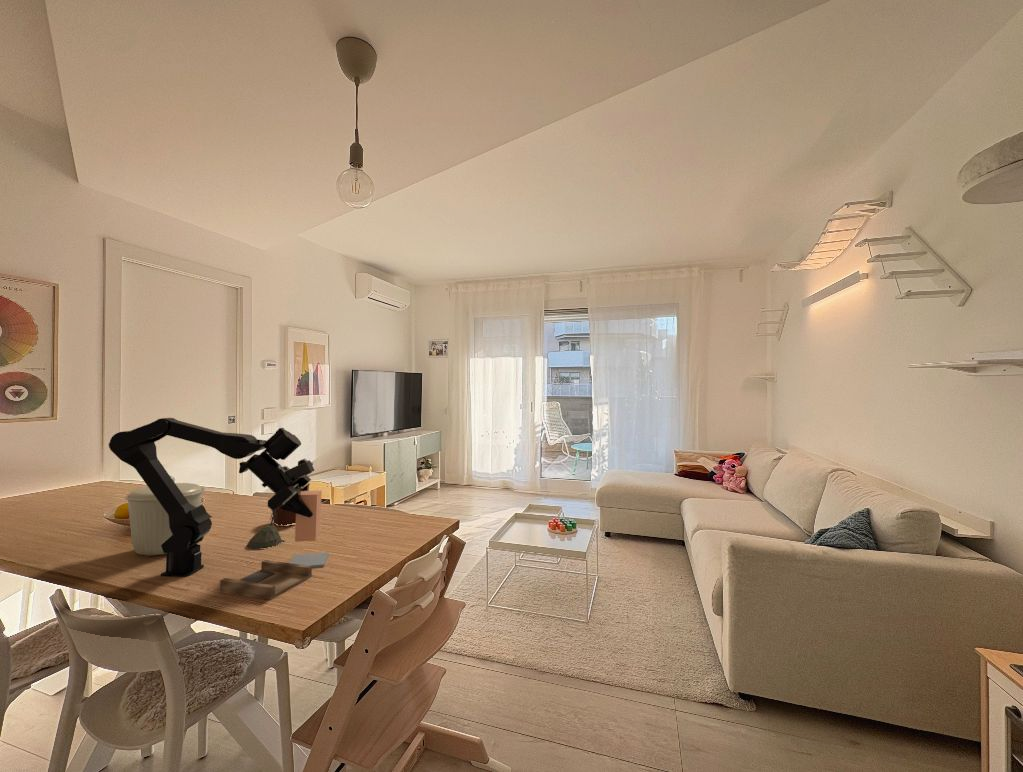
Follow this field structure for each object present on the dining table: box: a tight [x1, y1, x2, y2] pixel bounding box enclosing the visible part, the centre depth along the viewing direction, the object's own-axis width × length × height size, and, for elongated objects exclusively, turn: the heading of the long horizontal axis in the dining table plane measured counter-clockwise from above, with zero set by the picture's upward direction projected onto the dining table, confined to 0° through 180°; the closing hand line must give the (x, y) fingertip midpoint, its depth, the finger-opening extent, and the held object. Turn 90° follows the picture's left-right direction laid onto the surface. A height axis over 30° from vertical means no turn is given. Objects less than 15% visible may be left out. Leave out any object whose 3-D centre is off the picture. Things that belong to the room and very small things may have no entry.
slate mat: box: [288, 552, 330, 569], centre depth 116 cm, size 9×9×1 cm
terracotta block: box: [294, 489, 322, 543], centre depth 115 cm, size 5×5×12 cm
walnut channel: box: [218, 559, 313, 601], centre depth 102 cm, size 14×13×3 cm
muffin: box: [271, 504, 296, 525], centre depth 152 cm, size 12×11×10 cm
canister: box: [124, 475, 206, 557], centre depth 124 cm, size 18×18×21 cm
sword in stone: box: [245, 510, 285, 550], centre depth 130 cm, size 10×8×12 cm
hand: (314, 513), depth 115 cm, fingers closed on terracotta block, 5 cm apart
